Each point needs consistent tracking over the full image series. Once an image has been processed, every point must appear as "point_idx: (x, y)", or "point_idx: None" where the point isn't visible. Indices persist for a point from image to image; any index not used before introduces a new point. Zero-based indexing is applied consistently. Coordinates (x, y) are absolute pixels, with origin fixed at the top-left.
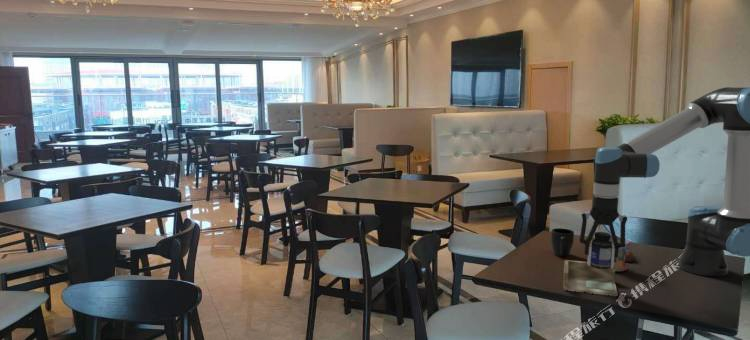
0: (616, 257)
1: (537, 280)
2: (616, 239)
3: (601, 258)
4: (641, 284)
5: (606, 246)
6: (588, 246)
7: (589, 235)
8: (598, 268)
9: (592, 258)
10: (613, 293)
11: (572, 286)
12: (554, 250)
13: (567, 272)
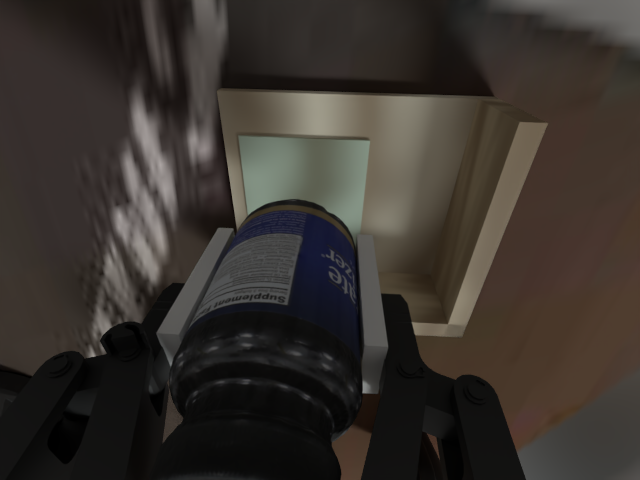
0: (175, 284)
1: (588, 199)
2: (89, 433)
3: (283, 238)
4: (147, 267)
5: (217, 326)
6: (390, 352)
7: (412, 478)
8: (308, 202)
9: (349, 260)
10: (237, 94)
11: (441, 136)
12: (430, 442)
13: (519, 138)
